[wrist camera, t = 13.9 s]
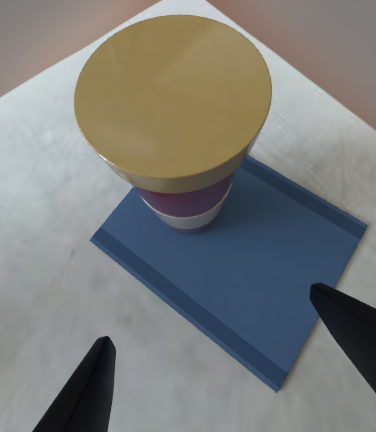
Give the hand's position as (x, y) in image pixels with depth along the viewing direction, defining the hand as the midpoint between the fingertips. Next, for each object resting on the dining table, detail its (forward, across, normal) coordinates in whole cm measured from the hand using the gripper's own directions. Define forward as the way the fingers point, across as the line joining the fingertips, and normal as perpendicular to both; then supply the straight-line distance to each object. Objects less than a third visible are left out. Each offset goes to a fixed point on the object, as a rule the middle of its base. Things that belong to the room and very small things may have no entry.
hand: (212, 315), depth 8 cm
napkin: (+10, -3, +2) cm, 10 cm away
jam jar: (+12, -1, -1) cm, 12 cm away
